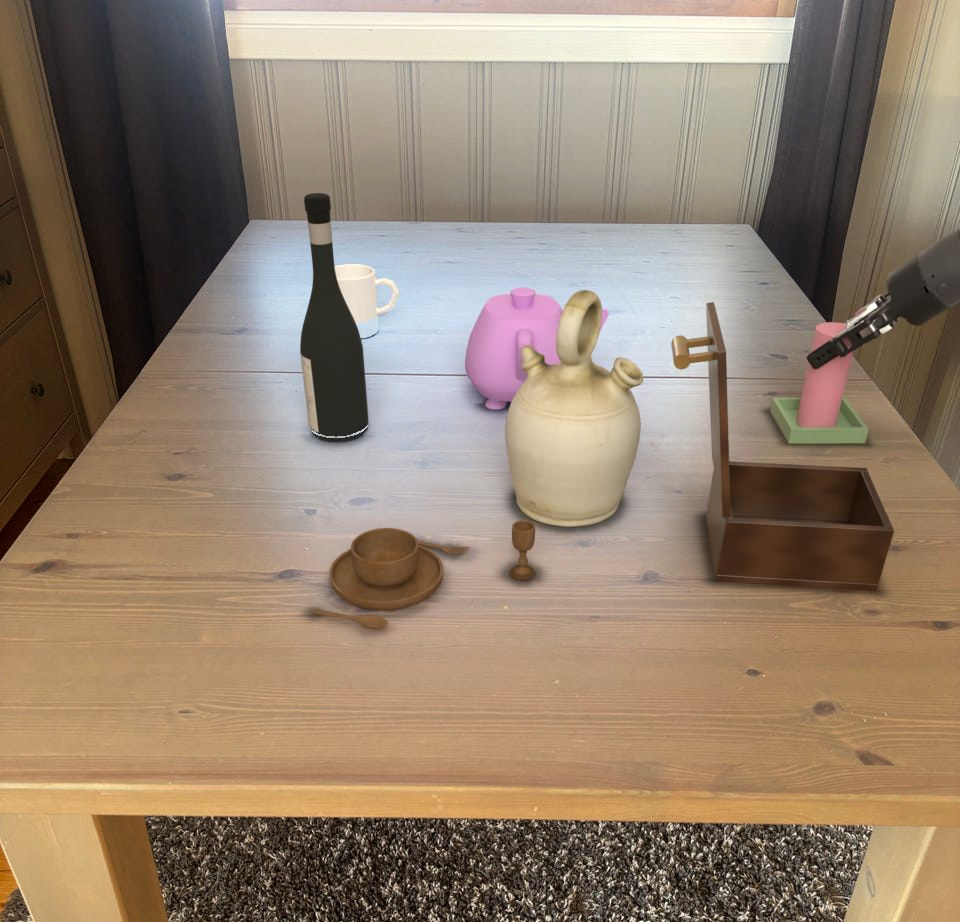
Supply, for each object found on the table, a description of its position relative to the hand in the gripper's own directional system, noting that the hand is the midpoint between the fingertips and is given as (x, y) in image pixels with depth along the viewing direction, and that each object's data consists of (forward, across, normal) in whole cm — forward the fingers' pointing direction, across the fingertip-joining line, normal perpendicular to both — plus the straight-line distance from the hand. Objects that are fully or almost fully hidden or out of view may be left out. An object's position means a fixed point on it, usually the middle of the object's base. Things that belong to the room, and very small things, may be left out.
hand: (817, 355), depth 128 cm
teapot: (+32, +12, -18) cm, 39 cm away
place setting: (+23, +61, -9) cm, 65 cm away
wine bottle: (+45, +35, -30) cm, 64 cm away
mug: (+59, +2, -44) cm, 74 cm away
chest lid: (-4, +38, -5) cm, 38 cm away
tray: (+6, 0, +8) cm, 10 cm away
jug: (+20, +36, -6) cm, 41 cm away
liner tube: (+5, 0, +8) cm, 9 cm away
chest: (+1, +34, +13) cm, 36 cm away
